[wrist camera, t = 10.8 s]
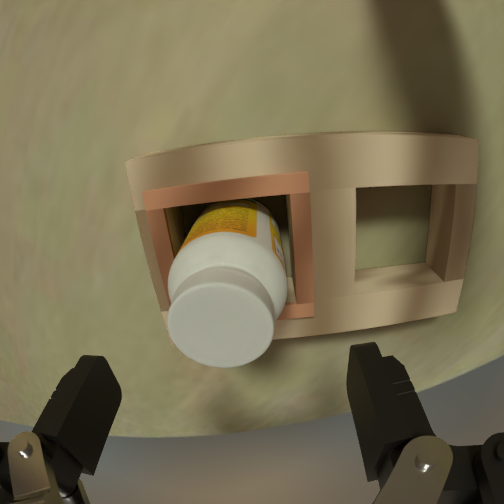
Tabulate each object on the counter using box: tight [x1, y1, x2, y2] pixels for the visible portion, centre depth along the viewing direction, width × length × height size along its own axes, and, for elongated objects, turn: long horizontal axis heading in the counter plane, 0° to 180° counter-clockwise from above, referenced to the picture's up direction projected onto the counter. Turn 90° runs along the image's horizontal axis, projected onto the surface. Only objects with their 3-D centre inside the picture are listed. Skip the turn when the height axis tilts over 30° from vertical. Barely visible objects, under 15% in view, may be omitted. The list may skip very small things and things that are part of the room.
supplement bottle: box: [167, 198, 288, 368], centre depth 16 cm, size 5×5×10 cm
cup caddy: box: [125, 131, 478, 345], centre depth 18 cm, size 20×12×3 cm, turn 96°
